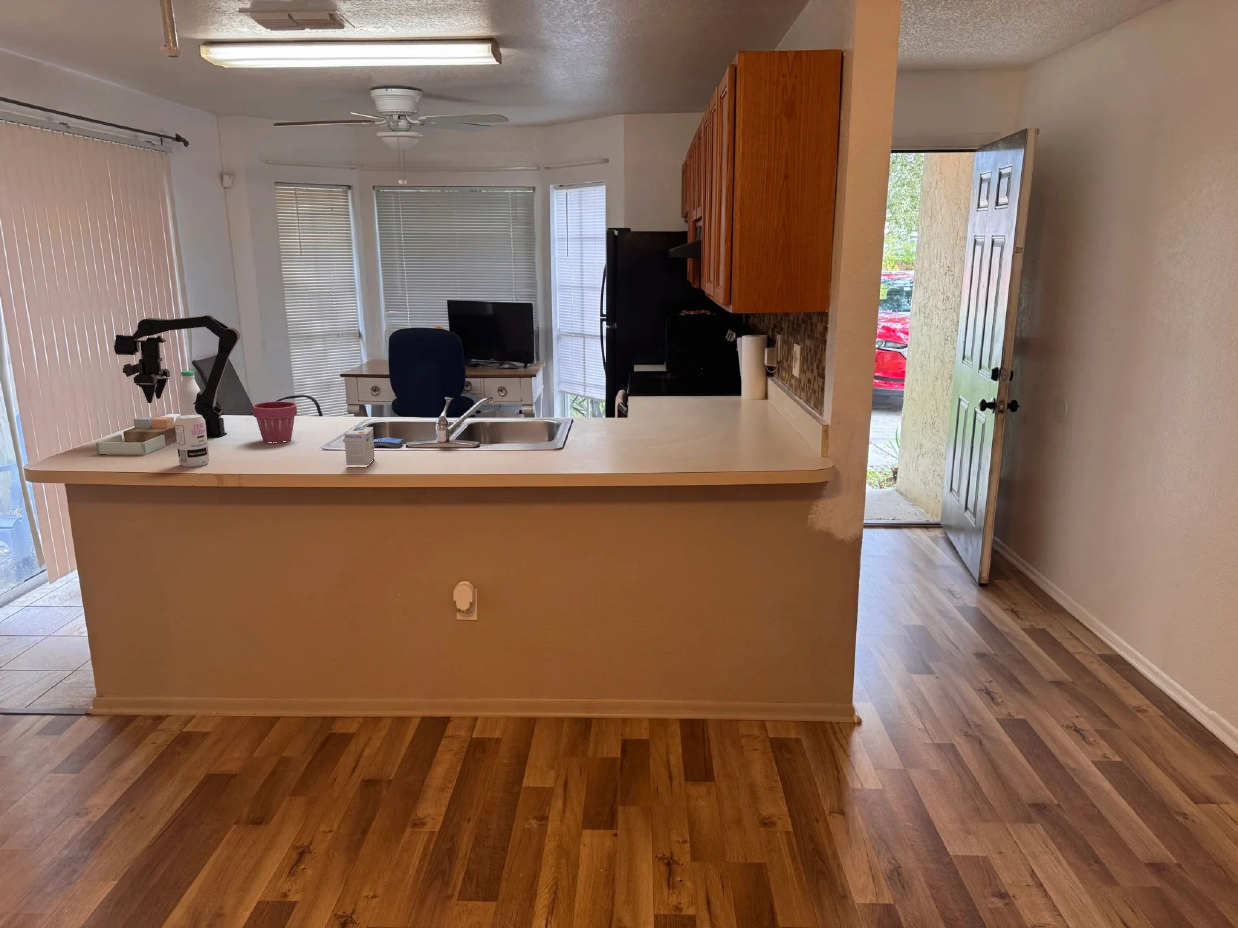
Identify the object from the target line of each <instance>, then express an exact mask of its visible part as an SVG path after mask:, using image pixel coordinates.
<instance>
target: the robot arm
mask: <svg viewBox="0 0 1238 928" xmlns="http://www.w3.org/2000/svg"><path fill="white" fill-rule="evenodd" d="M136 326H137V329H136V331H135V332H134V333H133V334H131V335H124V334H116V335H115V339H114V345H113V350H114V353H115V355H116V356H136V355H137V353H140V357H141V358H139V359H138V363H136V364H135V363H134V364H131V363H130V362H129V363H126V364H123V368H122V373H123V374H125V377H126V378H128V377H131V376H134V377H133V384H135V385H136V386H138V387H139V388H141V389H142V392H143V394H144V397H145V399H146V402H147V404H152V403H153V399H154V397H155V398H156V399H157V400H160V399H161V397H162V394H163V393H164V390H165V388H166V386H167V383H168V381H169V379H170V377H171V371H170V370H169V369H167V368H162V363H161V362H163V357H161V347H160V344H162V343H166V341H167V340H166V339H165V338H164V337H162V335H159V334H162V333H165V332H169V331H178V330H179V331H180V330H186V329H189V330H190V329H196V328H197V329H198V328H206V329H208V331H210V332H211V333H212V334H213V335H215V336H216V337H218V345H217V346H218V347H217V354H216V357H215V360H214V362H213V365H212V368H211V371H210V373H209V374H210V375H209V377H208V379H207V382H206V385H205V387H204V390H203V391H202V390H200V391H199V392H198V393H197V396H196V401H195V402H194V403H193V404H195V411H196V413H197V414H199V415H202V417H203V418H204V420H205V425H206V435H207V438H221V437H223V436H226V435H227V434H228V432H225V421H224V417H222V415H223V409H221V408H220V407H219V406H217V404H216V403H217V398H218V397H217V396H218V394H217V393H218V389H219V386H220V384H221V381H222V379H223V375H224V372H225V370H226V366H227V365H228V361H229V358H230V355H231V354H232V352H233V351H234V349H235V347H236V345H237V344H238V343H239V340H241V339H240V337H241V334H240V331H238V330H237V329H236V328H234V327H229V326H227V325H226V324H224V323H223V322H221V321H219V320H218V319H216V318H215V317H214V316H212V315H210V314H206V315H200V316H199V315H198V316H190V317H189V316H188V317H180V318H179V317H178V318H170V319H168V318H158V317H147V318H143V319H140V320H139V322H138V323H137V325H136ZM155 335H157V337H153V336H155ZM144 337H146V339H142V338H144Z"/></svg>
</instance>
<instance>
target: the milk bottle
mask: <svg viewBox="0 0 1238 928" xmlns="http://www.w3.org/2000/svg"><path fill="white" fill-rule="evenodd" d="M195 374H196V373H195V371H194V370H181V371H180V377H181V383H180V387H179V390H178V402H179V403H178V404H179V411H180V413H179V414H180V416H181V415H189V414H197V413H196V411H195V404H193V403H194V402H195V401H196V396H197V393H198V392H199V391H201V389H200V387H199V385H198V384H197V382H196V379H195V377H196V376H195ZM198 415H199V414H198Z"/></svg>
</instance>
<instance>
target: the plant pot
mask: <svg viewBox="0 0 1238 928" xmlns="http://www.w3.org/2000/svg"><path fill="white" fill-rule="evenodd" d="M297 407H298V406H297V403H295V402H292V401H280V400H279V401H264V402H257V403H255V404H253V405H252V416H253V417H254V418H256V419H255V420H256V422H257V426H258V428H259V432H260V434H261V435H260V436H261V438H262V442H263V441H264V442H263V443H265V442H272V443H271V444H274V443H273V442H283V441H289V440H290V439H291V440H292V437H293V432H294V431H293V430H294V424H295V416H297V414H298V408H297ZM289 442H290V441H289Z"/></svg>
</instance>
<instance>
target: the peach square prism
mask: <svg viewBox="0 0 1238 928" xmlns="http://www.w3.org/2000/svg"><path fill="white" fill-rule="evenodd" d="M151 421H152V428H169V427H172V426H175V417H174V416H158V417H156V418H154V419H151Z"/></svg>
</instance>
